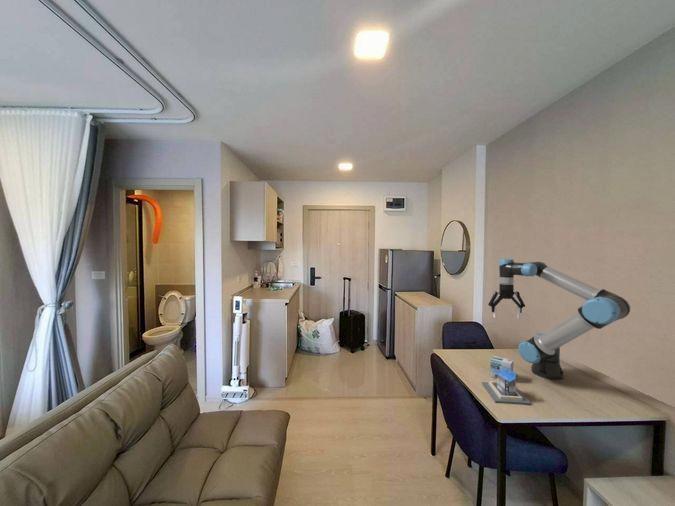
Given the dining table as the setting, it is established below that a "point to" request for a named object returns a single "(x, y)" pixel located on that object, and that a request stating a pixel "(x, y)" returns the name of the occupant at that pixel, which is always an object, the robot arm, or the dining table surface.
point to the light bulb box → (500, 365)
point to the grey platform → (501, 397)
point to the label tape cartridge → (507, 382)
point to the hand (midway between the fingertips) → (506, 317)
